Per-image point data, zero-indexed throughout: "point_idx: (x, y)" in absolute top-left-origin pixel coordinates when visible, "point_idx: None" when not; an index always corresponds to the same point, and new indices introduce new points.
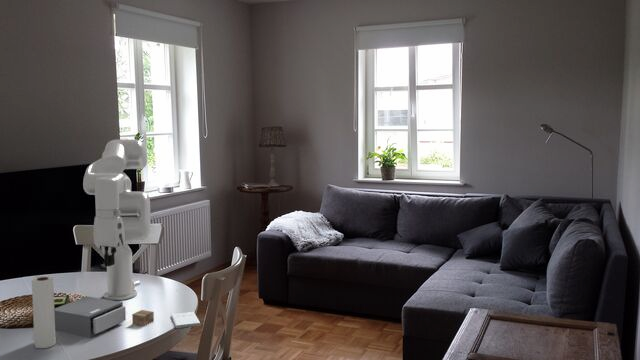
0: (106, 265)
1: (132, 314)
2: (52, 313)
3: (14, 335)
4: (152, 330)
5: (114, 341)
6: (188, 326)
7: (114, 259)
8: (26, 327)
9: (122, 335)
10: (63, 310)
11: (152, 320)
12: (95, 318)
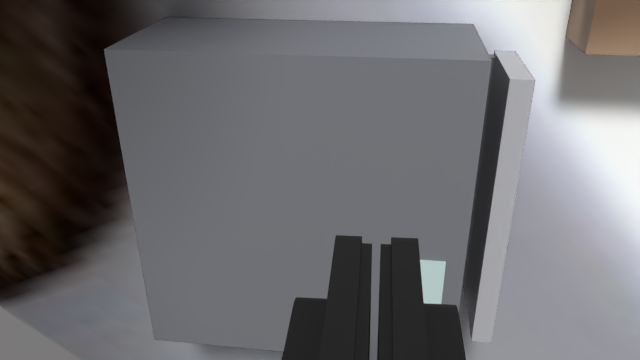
0: (369, 353)
1: (586, 53)
2: None
3: (111, 350)
4: None
5: (609, 287)
6: None
7: (462, 339)
8: (61, 272)
9: (606, 212)
10: (226, 328)
11: None
12: (478, 331)
